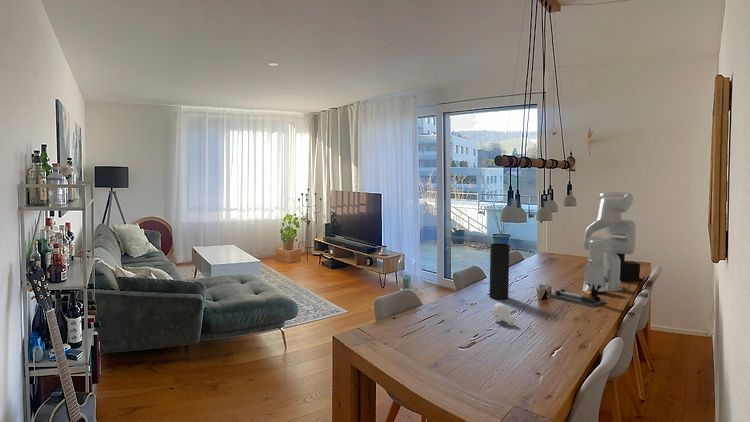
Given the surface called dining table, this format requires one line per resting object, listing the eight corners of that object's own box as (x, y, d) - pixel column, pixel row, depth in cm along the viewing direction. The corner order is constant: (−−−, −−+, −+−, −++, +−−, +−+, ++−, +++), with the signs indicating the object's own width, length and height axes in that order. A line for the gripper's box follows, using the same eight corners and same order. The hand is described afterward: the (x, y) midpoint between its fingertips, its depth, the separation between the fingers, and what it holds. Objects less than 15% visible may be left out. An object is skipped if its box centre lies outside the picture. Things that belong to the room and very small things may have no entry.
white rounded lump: (500, 301, 217) (520, 309, 207) (498, 317, 219) (518, 327, 209) (491, 302, 214) (510, 311, 204) (489, 320, 215) (509, 329, 205)
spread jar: (610, 293, 264) (611, 274, 263) (595, 295, 260) (596, 275, 259) (593, 289, 275) (594, 270, 274) (579, 290, 271) (579, 271, 270)
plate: (563, 293, 265) (563, 287, 265) (605, 302, 246) (605, 296, 246) (550, 297, 256) (550, 291, 256) (592, 307, 237) (592, 300, 237)
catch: (584, 297, 251) (584, 290, 250) (593, 299, 247) (593, 291, 246) (579, 298, 248) (579, 291, 247) (588, 300, 244) (588, 293, 243)
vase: (508, 300, 250) (510, 246, 247) (489, 299, 252) (491, 245, 249) (507, 295, 260) (508, 243, 258) (489, 294, 262) (490, 243, 260)
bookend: (636, 278, 305) (638, 243, 303) (642, 281, 294) (644, 245, 292) (599, 276, 309) (600, 242, 307) (604, 280, 299) (605, 244, 297)
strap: (561, 292, 260) (561, 290, 260) (586, 297, 249) (586, 295, 249) (557, 293, 258) (557, 291, 258) (582, 298, 247) (582, 296, 247)
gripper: (578, 261, 246) (577, 294, 247) (606, 266, 234) (605, 300, 235) (585, 260, 250) (584, 292, 252) (613, 264, 238) (612, 298, 240)
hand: (594, 296), depth 244 cm, fingers closed
